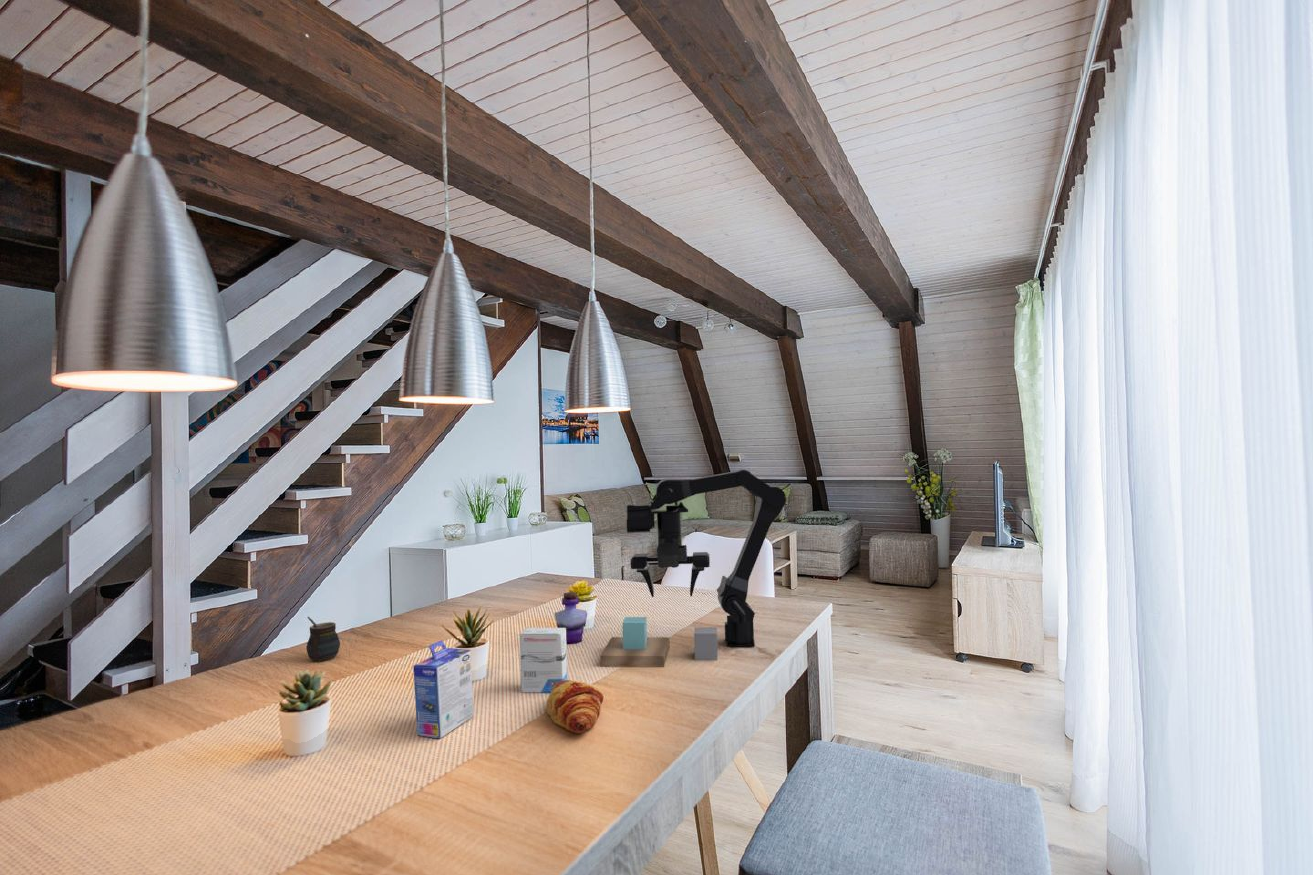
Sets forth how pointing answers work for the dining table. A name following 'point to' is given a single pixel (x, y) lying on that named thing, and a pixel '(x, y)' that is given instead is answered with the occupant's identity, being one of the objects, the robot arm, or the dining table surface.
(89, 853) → the dining table surface
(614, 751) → the dining table surface
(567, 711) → the croissant
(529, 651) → the ink box
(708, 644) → the gray block
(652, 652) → the walnut slab
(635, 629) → the teal block
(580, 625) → the potion bottle
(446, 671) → the ink cartridge box
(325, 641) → the mate gourd
